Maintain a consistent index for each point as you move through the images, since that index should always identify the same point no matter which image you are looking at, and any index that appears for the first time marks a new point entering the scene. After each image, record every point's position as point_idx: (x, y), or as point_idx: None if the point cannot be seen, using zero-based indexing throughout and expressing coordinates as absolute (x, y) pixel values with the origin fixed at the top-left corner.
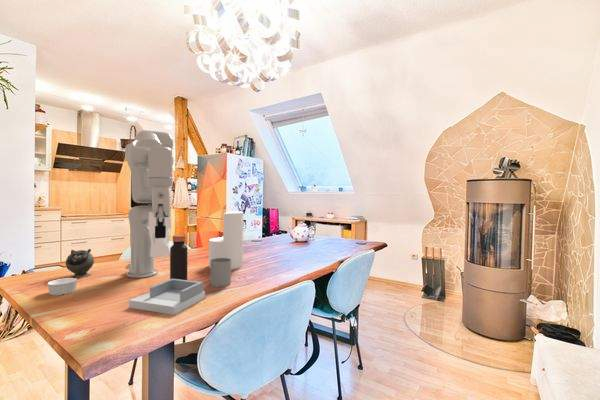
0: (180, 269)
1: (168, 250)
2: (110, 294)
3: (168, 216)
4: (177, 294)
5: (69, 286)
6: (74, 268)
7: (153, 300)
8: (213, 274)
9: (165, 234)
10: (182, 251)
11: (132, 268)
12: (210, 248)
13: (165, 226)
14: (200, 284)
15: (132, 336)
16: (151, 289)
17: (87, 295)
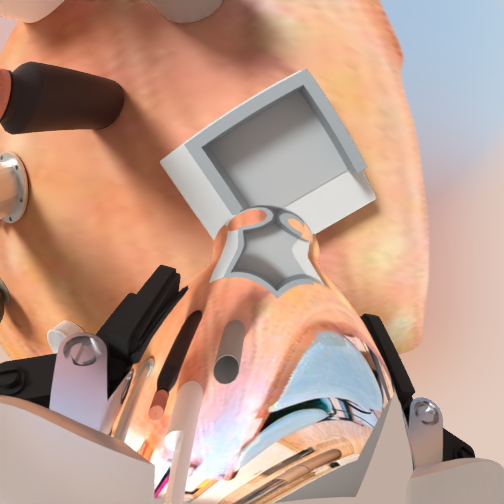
0: (95, 97)
1: (298, 226)
2: (116, 278)
3: (488, 461)
4: (280, 151)
5: None
6: (2, 314)
7: None
8: (191, 3)
9: (384, 331)
10: (50, 83)
11: (3, 217)
12: (4, 7)
13: (411, 387)
14: (314, 81)
15: (403, 291)
16: None
17: (106, 313)
